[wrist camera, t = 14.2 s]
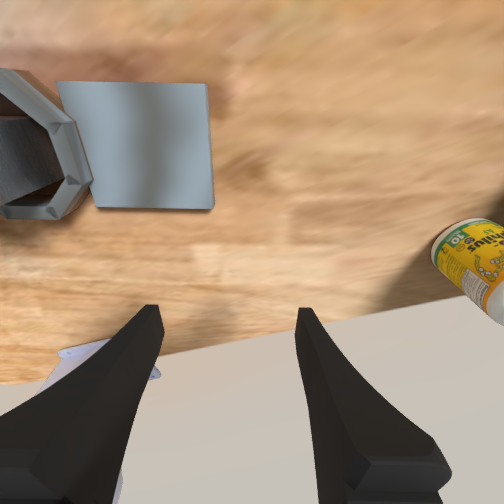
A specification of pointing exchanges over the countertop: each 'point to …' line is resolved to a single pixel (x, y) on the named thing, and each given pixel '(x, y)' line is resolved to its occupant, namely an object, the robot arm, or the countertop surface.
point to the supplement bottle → (474, 262)
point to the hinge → (118, 144)
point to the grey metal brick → (25, 158)
